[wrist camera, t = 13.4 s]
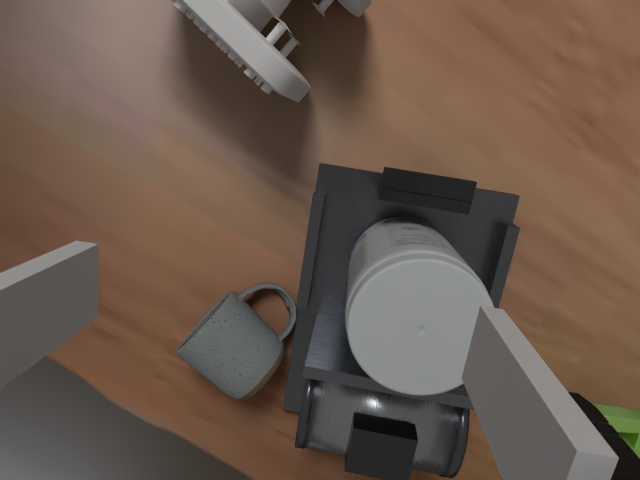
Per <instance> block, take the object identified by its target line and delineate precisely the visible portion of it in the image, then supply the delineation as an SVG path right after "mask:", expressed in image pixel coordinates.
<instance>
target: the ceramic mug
mask: <svg viewBox="0 0 640 480" xmlns="http://www.w3.org/2000/svg"><path fill="white" fill-rule="evenodd" d="M260 289H275V290H276V291H277V292H278V293H279V294H280V296H281V297H282V298H283V299H284V301H285V303H286V306H287V307H288V308H289V309H290V312H291V314H290V320H289V322H288V324H287V326H286V327H285V328H284V330H283V331H282V332H281V333H280V334H279V335H277V334H276V332H275V331H274V330H273V329H272V328H271V327H270V326H269V325H268V324H267V323H266V322H264V321H263V320H262V319H261V318H260V317H259V315H258V314H257V313H256V312H255V311H254V310H253V309H252V308H251V307H250V306H249V305H248V304H247V303H246V302H245V301H244V298H245V297H246V296H248V295H249V294H251V293H253V292H255V291H257V290H260ZM296 311H297V310H296V305H295V302H294V300H293V299H292V297H291V295H290V294H289V293H288V292H287V291H286V290H285V289H284V288H282V287H281V286H279V285H276V284H273V283H262V284H258V285H255V286H253V287H251V288H249V289H248V290H246V291H244V292H243V293H242V294H240V295H238V294H237V293H236V292H234V291H232V292H230V293H228V294H227V295H226V296H224V297H223V299H221V300H220V301H219V302H218V303H217V304H216V305H215V306H214V307H213V308H212V309H211V310H210V311H209V312H208V313H207V314H206V315H205V316H204V317H203V318H202V319H201V321H200V322H199V323H198V324H197V325H196V326H195V327H194V328H193V329H192V330H191V332H190V333H189V334H188V335H187V336H186V338H185V339H184V340H183V342H182V343H181V344H180V346H179V347H178V349H177V350H176V354H177V356H178V357H180V358H181V359H182V360H184V361H185V362H186V363H188V364H189V365H190V366H191V367H193V368H194V369H195V370H196V371H198V372H199V373H200V374H201V375H203V376H204V377H205V378H207V379H208V380H209V381H211V382H212V383H213V384H214V385H215V386H217V387H218V388H219V389H220V390H221V391H223V392H224V393H225V394H227V395H229V396H231V397H233V398H234V399H237V400H246V399H249V398H251V397H252V396H254V395H255V394H256V393H258V392H259V391H260V390H261V389H262V388H263V387H264V386H265V384H266V383H267V382H268V381H269V380H270V379H271V378H272V376H273V375H274V373H275V372H276V371H277V369H278V368H279V366H280V365H281V363H282V361H283V358H284V356H285V345H284V343H283V339H284V338H285V337H286V336H287V335H288V334H289V333H290V331H291V329H292V328H293V326H294V323H295V321H296Z"/></svg>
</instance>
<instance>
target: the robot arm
mask: <svg viewBox="0 0 640 480" xmlns="http://www.w3.org/2000/svg"><path fill="white" fill-rule="evenodd" d="M97 317H98V244H95V243H88V242H82V241H75V242H72V243H70V244H68V245H65V246H63V247H61V248H58V249H56V250H53V251H51V252H49V253H46V254H44V255H42V256H39V257H37V258H34V259H32V260H30V261H27V262H25V263H23V264H20V265H18V266H16V267H13V268H11V269H8V270H6V271H4V272H1V273H0V390H1V389H2V388H3V387H5V386H6V385H7V384H9V383H10V382H11V381H13V380H14V379H15V378H17V377H18V376H19V375H21V374H22V373H23V372H25V371H26V370H27V369H29V368H30V367H31V366H33V365H34V364H35V363H37V362H38V361H39V360H41V359H42V358H43V357H45V356H46V355H47V354H49V353H50V352H51V351H53V350H54V349H56V348H57V347H58V346H60V345H61V344H62V343H64V342H65V341H66V340H68V339H69V338H70V337H72V336H73V335H74V334H76V333H77V332H78V331H80V330H81V329H82V328H84V327H85V326H86V325H88V324H89V323H90V322H92V321H93V320H94V319H96V318H97ZM462 380H463V383H464V385H465V388H466V390H467V393H468V395H469V398H470V400H471V403H472V405H473V408H474V410H475V412H476V415H477V417H478V420H479V422H480V425H481V427H482V430H483V432H484V435H485V437H486V440H487V442H488V445H489V447H490V449H491V452H492V454H493V457H494V459H495V462H496V464H497V467H498V469H499V472H500V474H501V477H502V479H503V480H640V458H639V457H638V456H637V455H636V454H635V452H634V451H633V450H632V449H631V448H630V447H629V445H628V444H627V443H626V442H625V441H624V439H623V438H622V437H619V433H618V432H617V431H616V430H615V429H614V427H613V426H612V425H609V421H608V420H607V419H606V418H605V417H604V415H603V414H602V413H601V412H600V411H599V410H598V408H597V407H596V406H594V405H593V404H592V403H590V402H589V401H588V400H586V399H585V398H584V397H582V396H581V395H580V394H578V393H572V392H567V391H566V389H565V388H564V387H563V385H562V384H561V383H560V382H559V380H558V379H557V378H556V376H555V375H554V374H553V373H552V371H551V370H550V369H549V367H548V366H547V365H546V364H545V362H544V361H543V360H542V358H541V357H540V356H539V355H538V353H537V352H536V351H535V349H534V348H533V347H532V346H531V344H530V343H529V342H528V340H527V339H526V338H525V337H524V335H523V334H522V333H521V331H520V330H519V329H518V328H517V326H516V325H515V324H514V322H513V321H512V320H511V319H510V317H509V316H508V315H507V313H506V312H505V311H504V310H503V309H497V308H491V307H485V306H480V309H479V312H478V316H477V320H476V324H475V328H474V332H473V336H472V339H471V343H470V347H469V351H468V355H467V359H466V362H465V366H464V370H463V374H462Z"/></svg>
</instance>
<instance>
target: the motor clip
mask: <svg viewBox="0 0 640 480" xmlns="http://www.w3.org/2000/svg"><path fill="white" fill-rule="evenodd" d="M476 184H477V182H475V181H470V180H464V179H457V178H451V177H445V176H439V175H433V174H426V173H420V172H414V171H408V170H401V169H395V168H389V167H384V171H383V173H379V172H373V171H366V170H360V169H354V168H348V167H342V166H335V165H329V164H323V163H320V165H319V171H318V178H317V185H316V191H315V192H314V193H313V198H312V205H311V212H310V218H309V225H308V232H307V239H306V245H305V252H304V259H303V266H302V272H301V279H300V286H299V293H298V300H297V306H296V309H298V312H297V319H296V326H295V332H294V339H293V346H292V352H291V359H290V366H289V373H288V379H287V386H286V393H285V399H284V406H283V410H287V411H292V412H297V413H300V415H299V421H298V427H297V434H296V441H295V447H297V448H302V449H304V448H308V449H313V450H318V451H323V452H328V453H333V454H338V455H343V456H345V471H346V472H351V473H356V474H361V475H366V476H371V477H376V478H381V479H386V480H409V476H410V472H411V469H413V470H418V471H423V472H428V473H433V474H438V475H439V476H442V477H447V478H453V477H455V476H456V475H457V473H458V472H459V470H460V467H461V465H462V462H463V459H464V455H465V451H466V446H467V440H468V431H469V409H472V410H474V408H473V405H472V403H471V400H470V398H469V395H468V393H467V390H466V388H465V385H464V384H462V385H460V386H458V387H457V388H454V389H452V390H449V391H447V392H443V393H439V394H433V395H422V396H419V395H408V394H403V393H399V392H396V391H393V390H391V389H389V388H386V387H384V386H382V385H381V384H379V383H378V382H376V381H375V380H373V379H372V378H371V377H370V376H369V375H368V374H366V373H365V371H364V370H363V369H362V368H361V367H360V365H359V364H358V362H357V361H356V359H355V357H354V355H353V353H352V351H351V348H350V345H349V341H348V335H347V331H346V323H345V312H346V298H347V285H348V272H349V262H350V256H351V253H352V250H353V248H354V246H355V244H356V242H357V241H358V239H359V238H360V236H361V235H362V234H363V233H364V232H365V231H366V230H367V229H368V228H370V227H371V226H372V225H374V224H376V223H378V222H380V221H382V220H385V219H389V218H393V217H411V218H416V219H419V220H422V221H424V222H426V223H428V224H430V225H431V226H433V227H434V228H435V229H437V230H438V231H439V232H440V233H441V234H442V235H443V236H444V238H445V239H446V240H447V241H448V242H449V243H450V245H451V246H452V247H453V248H454V249H455V250H456V251H457V253H458V254H459V255H460V256H461V257H462V258H463V259H464V261H465V262H466V263H467V264H468V265H469V266H470V268H471V269H472V270H473V271H474V272H475V274H476V275H477V276H478V277H479V278H480V280H481V281H482V283H483V284H484V286H485V288H486V290H487V292H488V294H489V296H490V298H491V300H492V303H493V306H494V308H497V309H498V307H499V303H500V299H501V296H502V292H503V288H504V285H505V281H506V277H507V274H508V270H509V267H510V263H511V259H512V256H513V252H514V248H515V245H516V241H517V237H518V234H519V230H520V228H519V227H517V226H516V225H514V224H513V219H514V215H515V212H516V208H517V204H518V200H519V197H520V196H518V195H515V194H509V193H503V192H497V191H491V190H484V189H478V188H476Z"/></svg>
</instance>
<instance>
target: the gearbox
mask: <svg viewBox="0 0 640 480" xmlns="http://www.w3.org/2000/svg"><path fill="white" fill-rule="evenodd" d="M592 404H593V405H594V406H596V407H597V408H598V410H599V411H600V412H601V413H602V414H603V415H604V417H605V418H606V419H607V420H608V421H609V425H612V426H613V427H614V429H615V430H616V431H617V432H618V433H619V437H622V438H623V439H624V441H625V442H626V443H627V444H628V445H629V447H630V448H631V449H632V450H633V451H634V452H635V454H636V455H637V456H638V457H639V458H640V410H638V409H631V408H623V407H616V406H609V405H601V404H594V403H592Z"/></svg>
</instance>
